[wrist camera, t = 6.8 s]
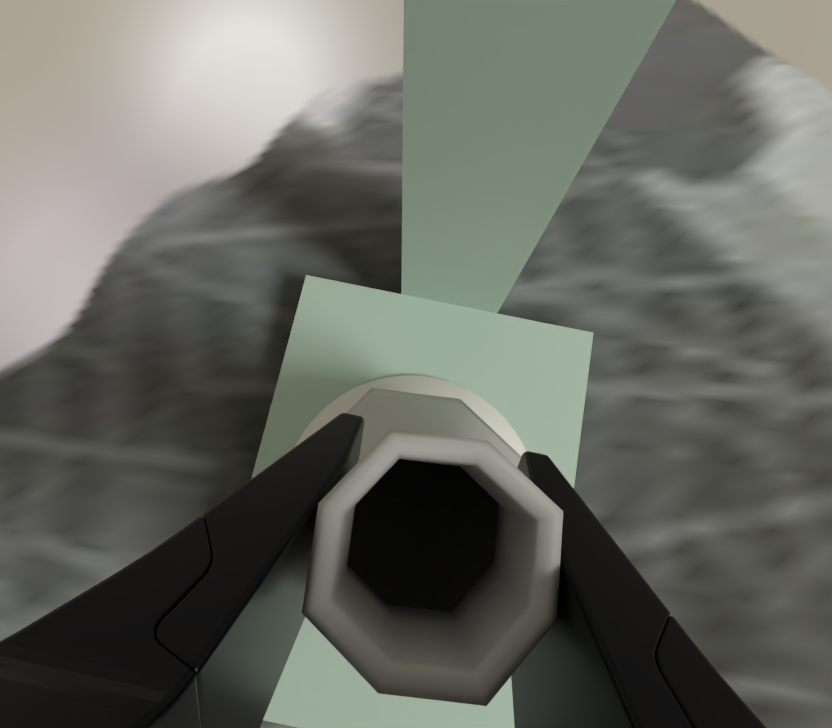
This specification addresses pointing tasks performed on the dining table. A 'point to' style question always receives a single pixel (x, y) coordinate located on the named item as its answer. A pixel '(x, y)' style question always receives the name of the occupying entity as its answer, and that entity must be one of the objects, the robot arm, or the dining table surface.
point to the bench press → (461, 276)
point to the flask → (433, 553)
